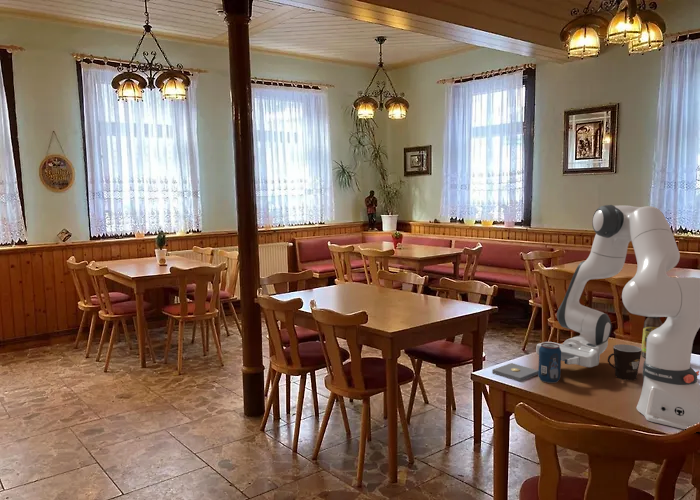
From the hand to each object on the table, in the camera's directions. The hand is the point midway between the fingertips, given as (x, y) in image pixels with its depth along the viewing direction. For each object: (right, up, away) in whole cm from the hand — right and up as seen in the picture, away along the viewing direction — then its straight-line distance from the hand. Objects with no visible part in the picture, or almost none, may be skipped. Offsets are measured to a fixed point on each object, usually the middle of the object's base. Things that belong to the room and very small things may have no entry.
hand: (553, 358), depth 191 cm
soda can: (-2, -7, 0) cm, 8 cm away
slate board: (-11, -6, +6) cm, 14 cm away
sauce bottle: (+44, -4, +22) cm, 50 cm away
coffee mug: (+23, -7, +2) cm, 25 cm away
